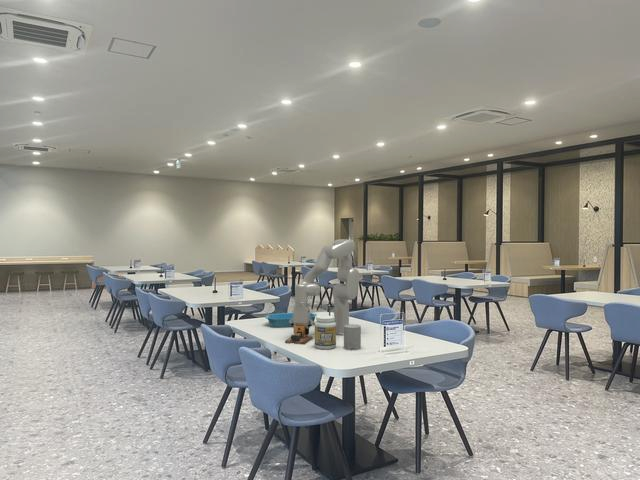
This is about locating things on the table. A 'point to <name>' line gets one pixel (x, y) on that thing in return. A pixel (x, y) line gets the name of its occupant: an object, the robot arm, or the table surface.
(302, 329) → the lock block
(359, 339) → the gray cylinder
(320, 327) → the supplement tub
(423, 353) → the table surface
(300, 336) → the rail board
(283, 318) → the casserole dish
